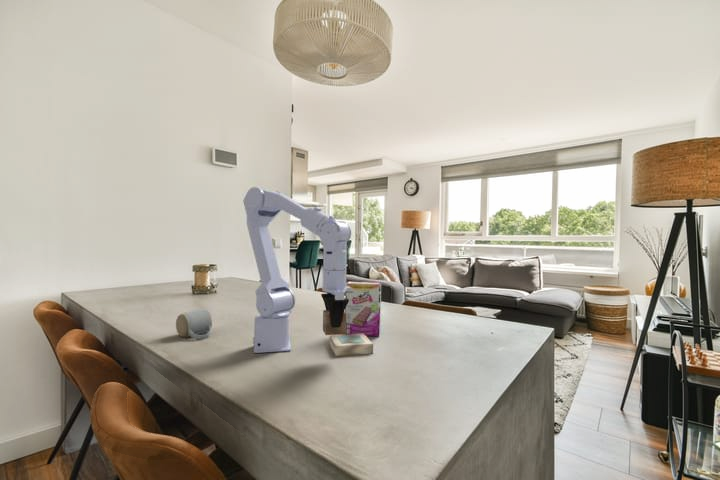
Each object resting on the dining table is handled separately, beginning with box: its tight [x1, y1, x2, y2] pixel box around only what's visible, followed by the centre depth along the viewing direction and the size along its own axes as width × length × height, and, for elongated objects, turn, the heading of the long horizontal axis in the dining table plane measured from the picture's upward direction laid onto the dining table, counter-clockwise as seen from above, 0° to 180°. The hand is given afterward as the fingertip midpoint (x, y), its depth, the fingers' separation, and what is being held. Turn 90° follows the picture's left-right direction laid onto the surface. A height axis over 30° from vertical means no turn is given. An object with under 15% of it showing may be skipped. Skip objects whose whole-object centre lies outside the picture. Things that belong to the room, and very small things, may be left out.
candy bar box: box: [344, 281, 382, 338], centre depth 107 cm, size 11×5×16 cm, turn 84°
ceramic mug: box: [175, 307, 213, 340], centre depth 103 cm, size 11×8×8 cm
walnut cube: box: [322, 309, 346, 336], centre depth 84 cm, size 5×5×5 cm
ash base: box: [329, 334, 374, 357], centre depth 93 cm, size 10×10×3 cm
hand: (334, 324), depth 84 cm, fingers closed on walnut cube, 5 cm apart
